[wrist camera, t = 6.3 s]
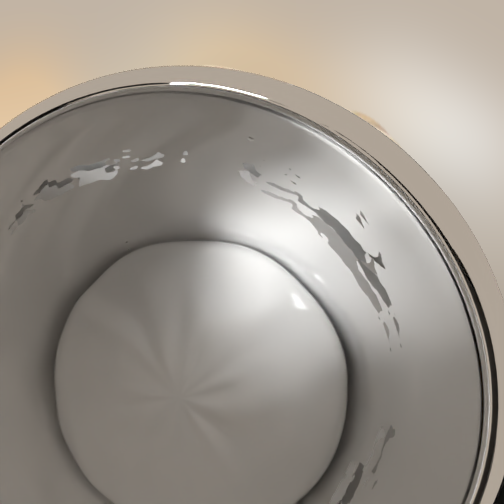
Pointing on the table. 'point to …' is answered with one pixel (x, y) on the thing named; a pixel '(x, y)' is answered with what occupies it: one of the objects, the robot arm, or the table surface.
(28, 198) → the metal tumbler
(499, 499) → the robot arm
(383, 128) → the table surface
